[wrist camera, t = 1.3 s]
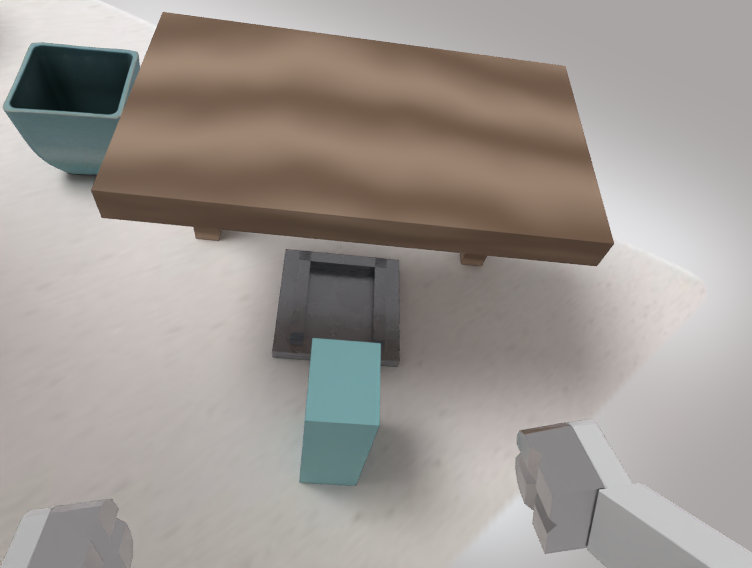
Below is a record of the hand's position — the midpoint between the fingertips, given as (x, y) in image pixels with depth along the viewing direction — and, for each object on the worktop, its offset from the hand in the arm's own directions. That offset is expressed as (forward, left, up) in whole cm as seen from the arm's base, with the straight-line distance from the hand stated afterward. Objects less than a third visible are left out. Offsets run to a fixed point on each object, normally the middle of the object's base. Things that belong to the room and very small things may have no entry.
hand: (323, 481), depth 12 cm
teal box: (-9, +6, -30) cm, 32 cm away
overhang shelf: (-20, +11, -30) cm, 37 cm away
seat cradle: (-20, +11, -30) cm, 37 cm away
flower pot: (-43, -4, -30) cm, 52 cm away
